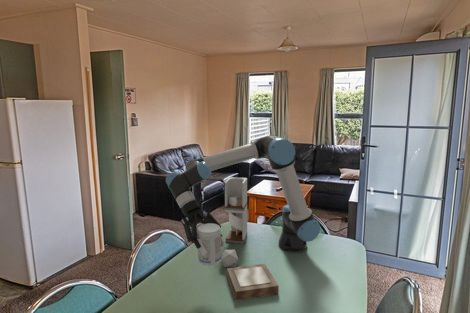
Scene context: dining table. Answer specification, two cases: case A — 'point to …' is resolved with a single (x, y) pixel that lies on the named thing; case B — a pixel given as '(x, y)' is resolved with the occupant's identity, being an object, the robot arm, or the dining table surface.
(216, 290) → the dining table surface
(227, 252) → the die
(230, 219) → the display case
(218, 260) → the supplement tub
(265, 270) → the walnut platform
